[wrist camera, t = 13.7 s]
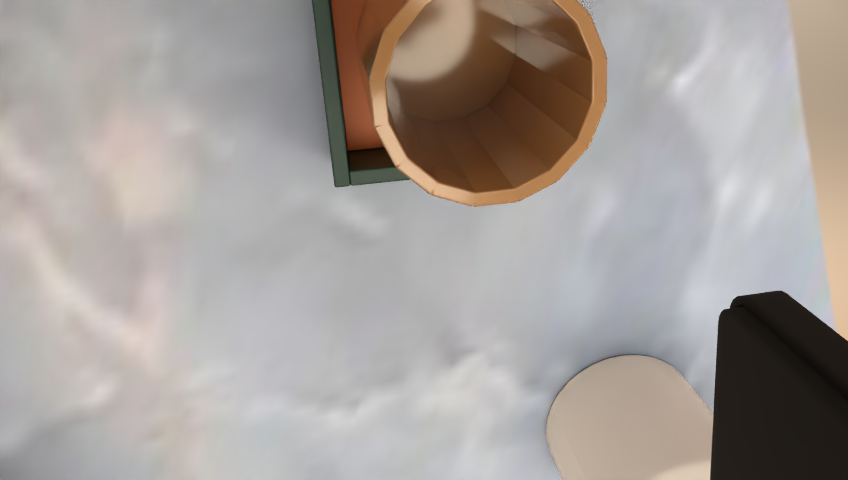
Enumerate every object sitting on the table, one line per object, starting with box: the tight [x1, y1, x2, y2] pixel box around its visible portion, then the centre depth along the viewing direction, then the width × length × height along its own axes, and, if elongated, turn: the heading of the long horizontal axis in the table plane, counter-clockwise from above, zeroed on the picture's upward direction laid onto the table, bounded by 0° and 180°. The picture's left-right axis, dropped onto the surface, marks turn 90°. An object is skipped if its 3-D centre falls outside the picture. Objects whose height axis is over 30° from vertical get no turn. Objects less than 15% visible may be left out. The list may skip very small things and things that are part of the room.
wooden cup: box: [356, 0, 607, 207], centre depth 27 cm, size 7×7×10 cm
